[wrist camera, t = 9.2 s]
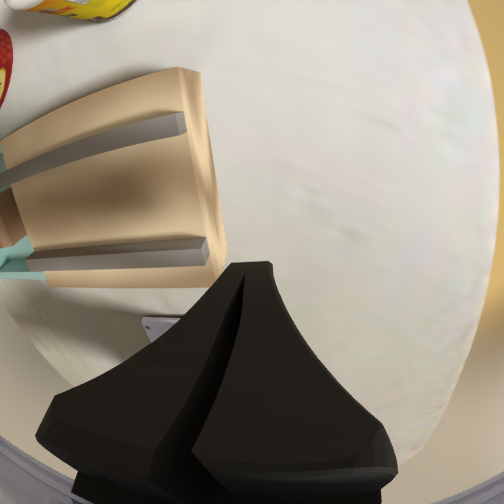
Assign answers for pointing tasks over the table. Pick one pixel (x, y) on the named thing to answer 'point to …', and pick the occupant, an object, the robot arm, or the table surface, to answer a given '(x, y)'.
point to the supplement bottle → (76, 8)
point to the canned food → (5, 63)
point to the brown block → (10, 220)
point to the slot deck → (121, 187)
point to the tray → (16, 252)
